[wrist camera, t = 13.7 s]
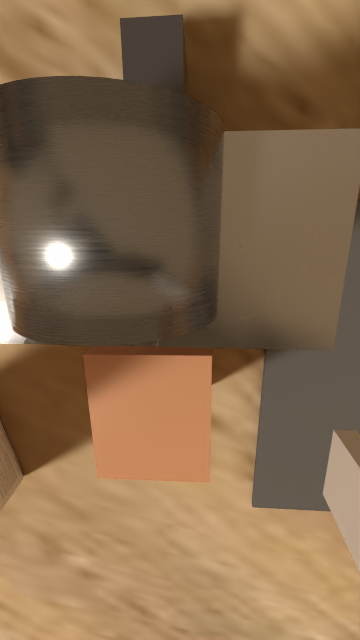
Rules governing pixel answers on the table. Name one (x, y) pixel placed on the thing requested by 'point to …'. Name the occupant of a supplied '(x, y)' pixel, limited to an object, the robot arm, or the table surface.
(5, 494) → the ink box
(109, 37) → the table surface
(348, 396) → the mat
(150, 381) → the plug
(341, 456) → the robot arm
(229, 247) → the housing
